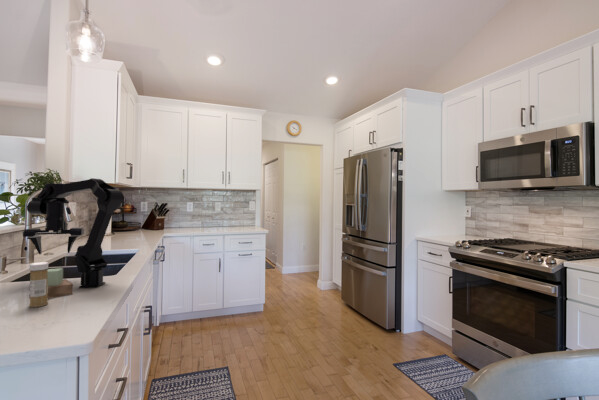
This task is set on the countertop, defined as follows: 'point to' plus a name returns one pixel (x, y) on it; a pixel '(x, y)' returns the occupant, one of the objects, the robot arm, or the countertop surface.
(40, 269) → the sprinkles bottle
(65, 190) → the robot arm
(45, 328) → the countertop surface
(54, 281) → the sage green cube
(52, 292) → the walnut block
